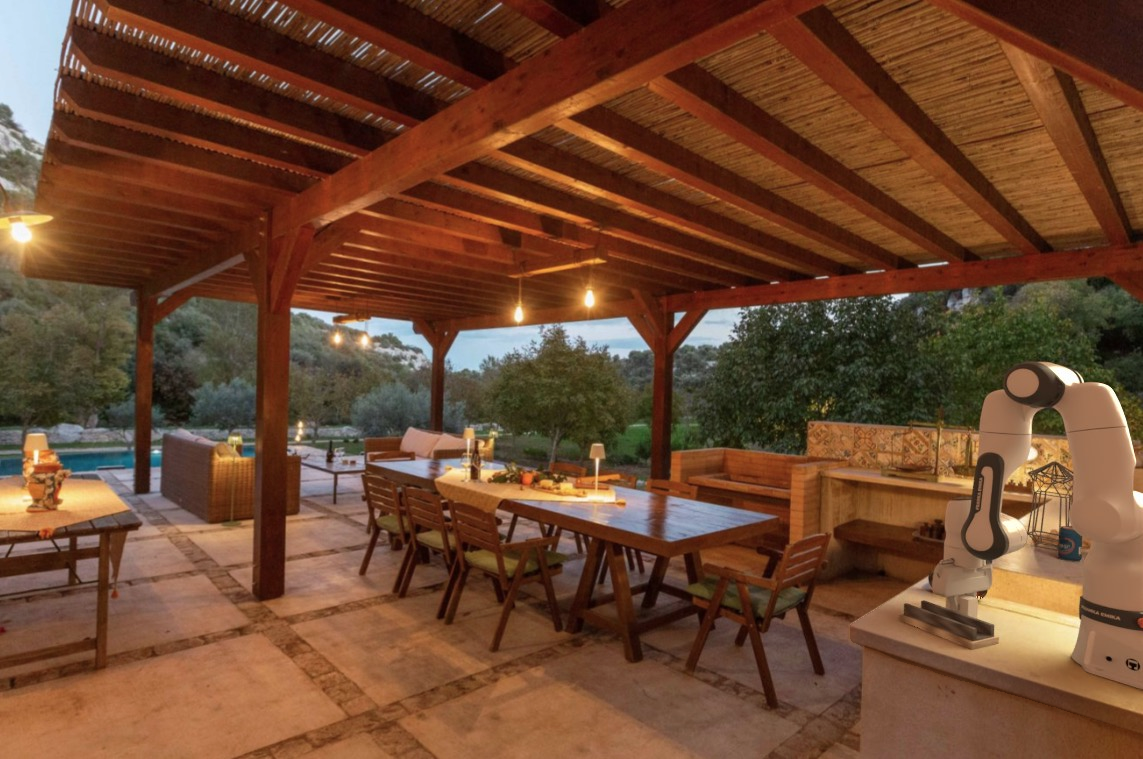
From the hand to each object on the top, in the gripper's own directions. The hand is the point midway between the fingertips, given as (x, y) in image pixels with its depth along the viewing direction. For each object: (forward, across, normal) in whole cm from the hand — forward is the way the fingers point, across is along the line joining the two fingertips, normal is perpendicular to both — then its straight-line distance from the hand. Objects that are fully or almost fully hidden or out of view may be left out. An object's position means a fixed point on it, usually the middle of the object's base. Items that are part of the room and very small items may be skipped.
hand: (961, 609), depth 166 cm
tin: (+3, +17, +12) cm, 21 cm away
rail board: (+2, -14, -5) cm, 15 cm away
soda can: (+2, +103, +25) cm, 106 cm away
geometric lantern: (+2, +118, +39) cm, 124 cm away
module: (+2, 0, 0) cm, 2 cm away
